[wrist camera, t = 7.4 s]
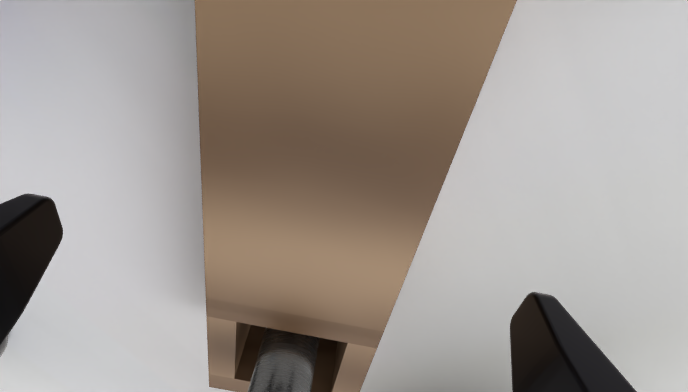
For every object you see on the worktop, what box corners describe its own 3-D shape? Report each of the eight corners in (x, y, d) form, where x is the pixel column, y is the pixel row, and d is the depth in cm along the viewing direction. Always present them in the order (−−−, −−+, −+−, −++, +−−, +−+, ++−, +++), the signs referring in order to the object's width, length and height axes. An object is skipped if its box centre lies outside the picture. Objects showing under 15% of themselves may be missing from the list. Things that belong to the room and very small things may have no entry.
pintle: (323, 308, 18) (299, 450, 14) (275, 299, 18) (237, 439, 14) (330, 277, 17) (307, 423, 13) (279, 267, 17) (239, 410, 13)
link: (249, -266, 8) (182, -311, 6) (542, -198, 8) (602, -214, 6) (233, 316, 19) (209, 386, 17) (357, 340, 20) (351, 412, 17)
